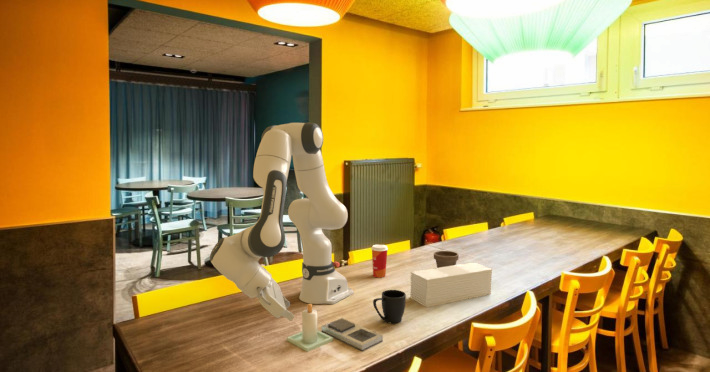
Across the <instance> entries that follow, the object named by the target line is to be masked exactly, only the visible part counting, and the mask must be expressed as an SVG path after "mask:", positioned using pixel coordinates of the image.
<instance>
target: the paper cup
mask: <svg viewBox="0 0 710 372" xmlns="http://www.w3.org/2000/svg"><path fill="white" fill-rule="evenodd" d="M370 249H371V254H372V255H371V259H372V262H371V263H372V277H373V278H376V277H378V279H383V278H385V277H386V273H387V272H386V271H387V259H388V258H387V257H388V250H389V248H388V245H385V244H373V245H372V247H371V248H370ZM382 277H383V278H382Z"/></svg>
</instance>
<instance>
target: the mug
mask: <svg viewBox="0 0 710 372" xmlns="http://www.w3.org/2000/svg"><path fill="white" fill-rule="evenodd" d="M406 297H407V295H406V292H404V291H402V290H399V289H389V290H388V289H387V290H384V291H382V292H381V297H378V298H374V299H373V300H372V305H373V308H374V310H375V311H376V313H377V314H378V316H379V317H380V319H381V320H382V321H384V322H386V323H388V324H391V325H392V324H393V325H394V324H400V323H401V322H402V319H403V317H404V316H403V315H404V312H405V309H406V300H407V299H406ZM378 301H381V308H382V313H383V315H382V314H381V312H380V311H379V308H378V307H377V302H378Z"/></svg>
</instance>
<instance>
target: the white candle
mask: <svg viewBox="0 0 710 372" xmlns="http://www.w3.org/2000/svg"><path fill="white" fill-rule="evenodd" d="M301 317H302V318H301V319H302V320H301V324H302V325H301V327H302V328H301V330H302V331H301V332H302V341H303V343H306V344H313V343H316V342H317V330H318V311H317V310H316V309H313V304H312V303H307V309H304V310H302V312H301Z"/></svg>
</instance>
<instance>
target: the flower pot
mask: <svg viewBox="0 0 710 372" xmlns="http://www.w3.org/2000/svg"><path fill="white" fill-rule="evenodd" d="M433 259H434V260H435V263H436V268H440V267H446V266H453V265H457V261H459V253H458V252H456V251H450V250H439V251H435V252H433Z"/></svg>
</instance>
